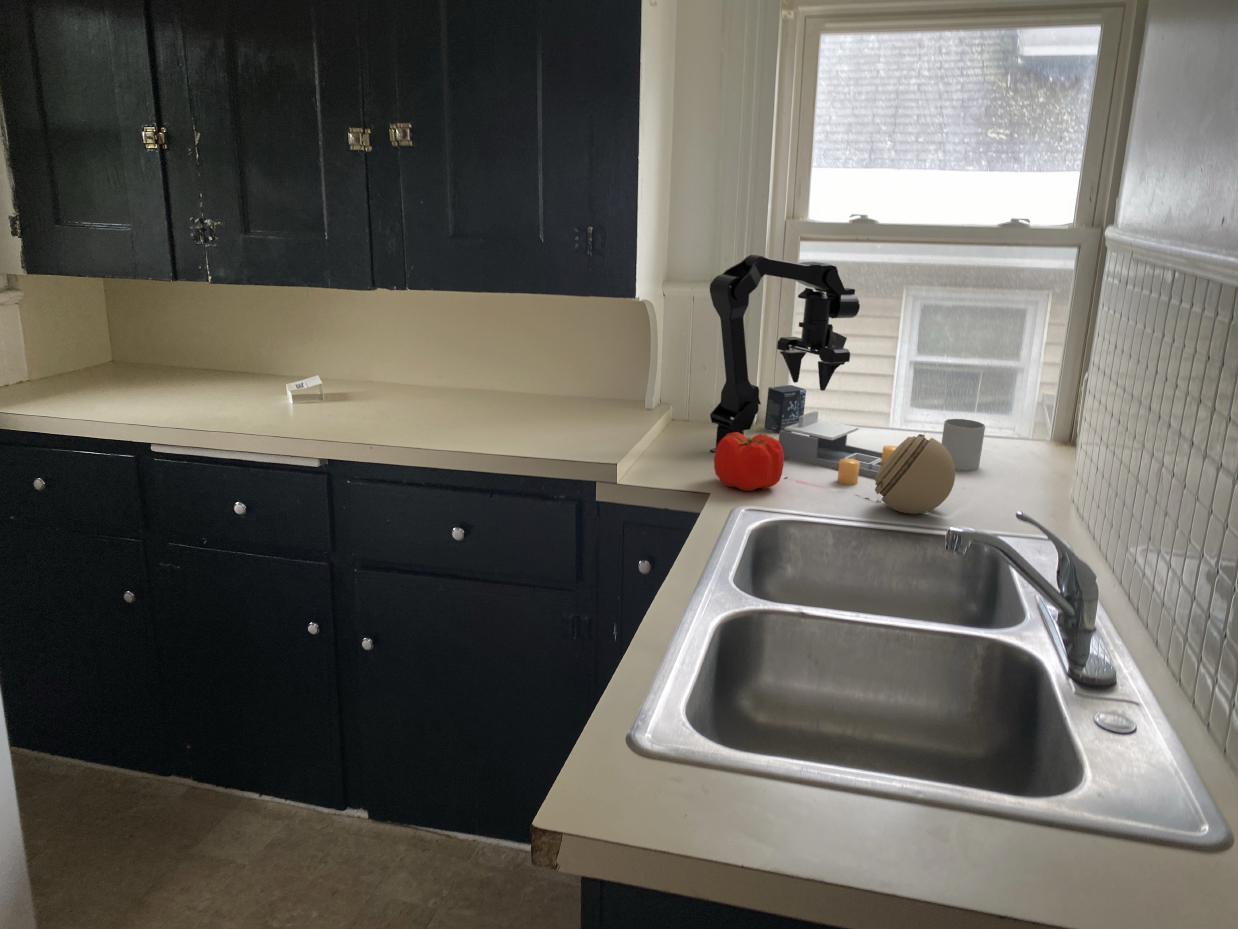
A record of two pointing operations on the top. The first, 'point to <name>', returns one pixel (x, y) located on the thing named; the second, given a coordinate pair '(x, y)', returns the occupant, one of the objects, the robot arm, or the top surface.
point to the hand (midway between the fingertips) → (808, 386)
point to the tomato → (749, 461)
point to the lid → (820, 427)
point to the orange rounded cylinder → (848, 471)
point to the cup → (963, 442)
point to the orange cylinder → (887, 453)
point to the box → (784, 407)
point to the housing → (828, 452)
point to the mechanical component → (916, 476)
